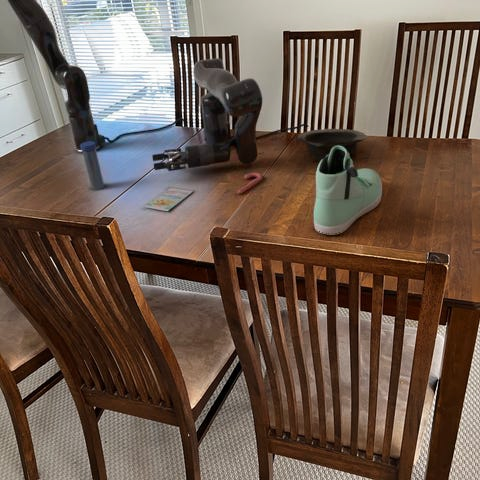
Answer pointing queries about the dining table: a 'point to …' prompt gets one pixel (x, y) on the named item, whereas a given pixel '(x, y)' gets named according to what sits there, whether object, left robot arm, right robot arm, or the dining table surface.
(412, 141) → the dining table surface
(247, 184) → the candy cane
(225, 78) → the right robot arm
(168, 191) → the baking ingredient package
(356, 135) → the stone bowl
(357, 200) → the sneaker
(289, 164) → the dining table surface
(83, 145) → the lid
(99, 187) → the jar
